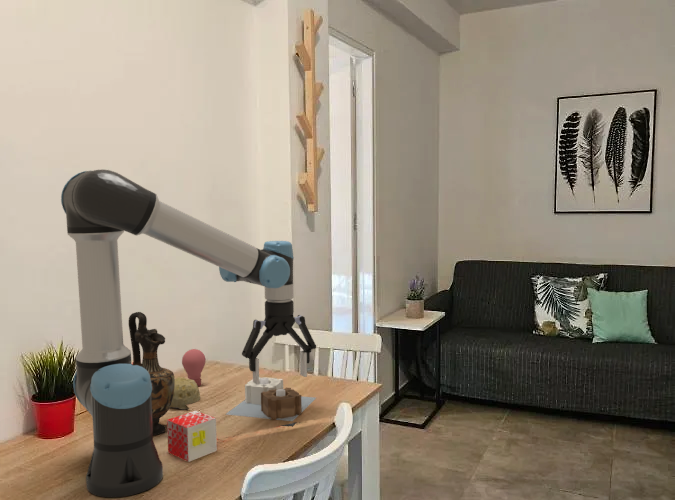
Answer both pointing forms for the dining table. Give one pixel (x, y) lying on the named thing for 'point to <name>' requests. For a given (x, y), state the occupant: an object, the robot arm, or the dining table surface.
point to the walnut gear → (281, 404)
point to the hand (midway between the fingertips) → (280, 379)
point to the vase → (152, 367)
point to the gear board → (256, 412)
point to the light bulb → (194, 364)
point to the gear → (260, 389)
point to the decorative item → (184, 393)
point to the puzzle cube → (191, 435)
